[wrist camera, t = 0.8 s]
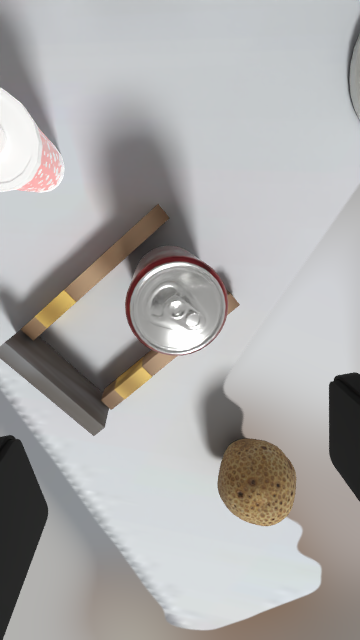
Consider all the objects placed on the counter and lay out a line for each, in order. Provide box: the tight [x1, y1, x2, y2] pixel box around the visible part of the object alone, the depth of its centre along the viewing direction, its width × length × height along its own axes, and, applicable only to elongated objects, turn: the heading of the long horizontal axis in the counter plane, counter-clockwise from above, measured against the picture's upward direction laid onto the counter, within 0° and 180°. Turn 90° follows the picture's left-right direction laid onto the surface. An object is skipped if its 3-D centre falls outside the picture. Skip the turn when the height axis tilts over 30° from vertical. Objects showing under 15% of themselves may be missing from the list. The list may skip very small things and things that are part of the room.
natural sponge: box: [218, 438, 296, 526], centre depth 35 cm, size 9×9×10 cm
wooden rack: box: [0, 204, 240, 436], centre depth 30 cm, size 20×13×5 cm, turn 130°
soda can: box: [125, 245, 228, 356], centre depth 26 cm, size 7×7×12 cm
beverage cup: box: [0, 88, 65, 192], centre depth 21 cm, size 6×6×14 cm
